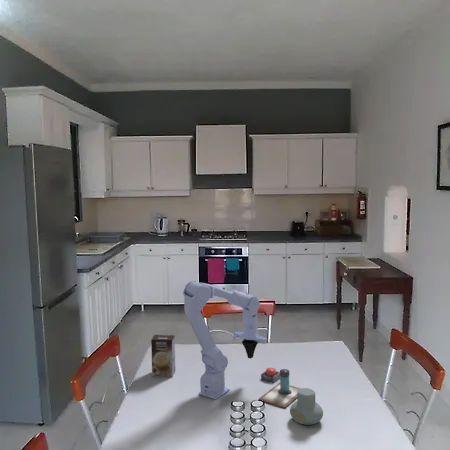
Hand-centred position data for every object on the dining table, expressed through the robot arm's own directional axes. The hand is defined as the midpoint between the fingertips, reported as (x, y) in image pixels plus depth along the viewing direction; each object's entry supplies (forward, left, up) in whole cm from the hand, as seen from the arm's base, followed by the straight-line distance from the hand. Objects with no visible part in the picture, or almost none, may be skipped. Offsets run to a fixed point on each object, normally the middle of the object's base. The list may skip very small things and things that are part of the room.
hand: (250, 357), depth 178 cm
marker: (-3, -17, -9) cm, 19 cm away
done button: (+6, -6, -9) cm, 12 cm away
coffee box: (-15, +34, -10) cm, 38 cm away
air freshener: (-16, -32, -10) cm, 37 cm away
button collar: (+6, -6, -9) cm, 13 cm away
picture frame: (-5, -17, -9) cm, 20 cm away
